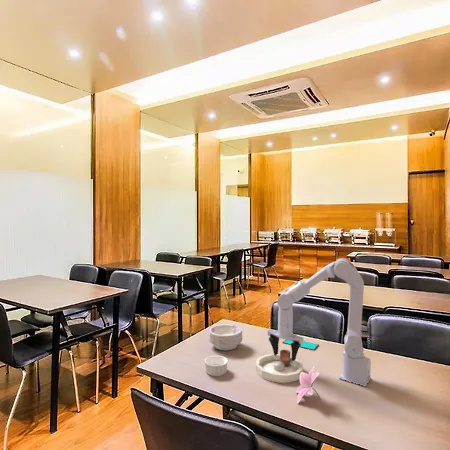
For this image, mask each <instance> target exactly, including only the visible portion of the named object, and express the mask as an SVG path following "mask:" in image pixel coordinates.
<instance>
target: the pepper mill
mask: <svg viewBox="0 0 450 450" xmlns="http://www.w3.org/2000/svg"><path fill="white" fill-rule="evenodd" d="M279 354H280V362H283V363H284V367H288V366H290V356H291V351H290V350H288V349H280V351H279Z"/></svg>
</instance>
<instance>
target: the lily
mask: <svg viewBox="0 0 450 450" xmlns="http://www.w3.org/2000/svg"><path fill="white" fill-rule="evenodd" d="M314 369H315V366H313V367H312V368H311V369H310V371H309V372H308V373H306V372H304V371H303V372H301V373H300V379H299V383H300V385H299V386H298V387H297V389H296V390H295V394H297V393H298V395H297V397H296V404H297V405H298V404H299V403H300V401H301V399H302V398H303V396H304V395H305V394H307V395H310V396H312V395H313V394H314V393H313V390H314V392H315V393H316V395H317V397H318V398H319V399H321V396H320V395H319V393H318V392H317V390H316V389H315V387H314V381H316V378H317V377H318V376H319V375H320V372H314V371H315V370H314Z"/></svg>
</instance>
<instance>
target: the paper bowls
mask: <svg viewBox="0 0 450 450" xmlns="http://www.w3.org/2000/svg"><path fill="white" fill-rule="evenodd" d="M208 341H209V342H210V343H211V345H213V346H214V347H215V349H218V350H220V351H232V350H235V349H236V348H237V347H238V346H239V345H240V344H241V343H242V342H243V329H242V327H240V326H238V325H235V324H233V325H232V324H217V325H214V326H211V327H210V328H209V330H208Z"/></svg>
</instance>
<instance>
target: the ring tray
mask: <svg viewBox="0 0 450 450" xmlns="http://www.w3.org/2000/svg"><path fill="white" fill-rule="evenodd" d="M255 372H256V374H257V375H258V376H260V378H262V379H264V380H266V381H269V382H273V383H279V384H290V383H294V382H297V381H300V373H301V372H304V366H303V363H302V362H301V361H300V360H299V359H297V358H296V359H295V360H294V361H292V355H290V366H288V367H284V363H283V362H280V353H278V354H277V355H276V356H275V355H274V353H270V354H265V355H261V356H259V357H258V358H257V359H256V360H255Z"/></svg>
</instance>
